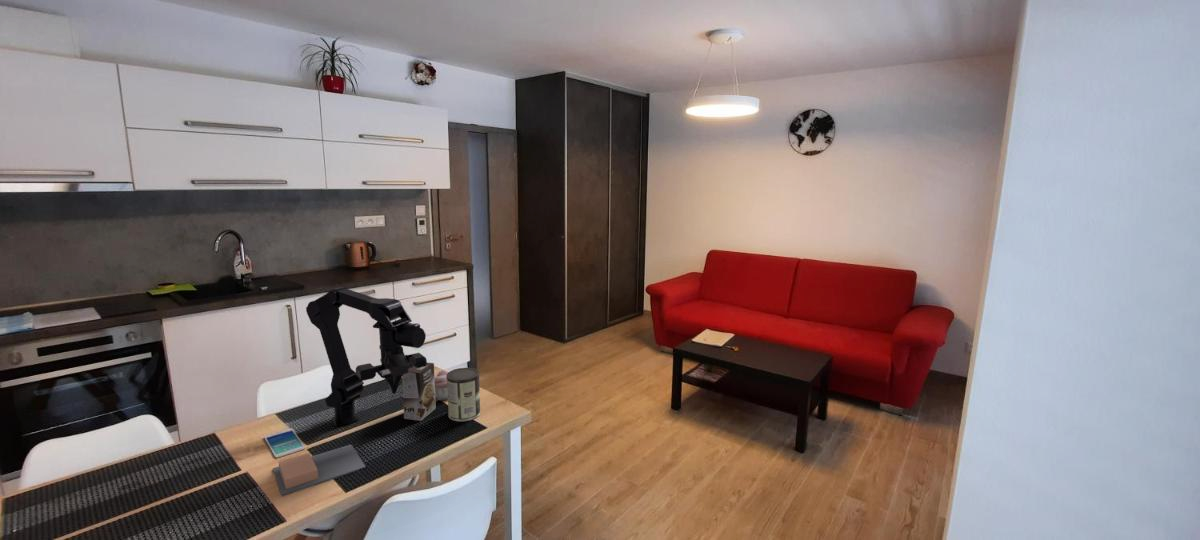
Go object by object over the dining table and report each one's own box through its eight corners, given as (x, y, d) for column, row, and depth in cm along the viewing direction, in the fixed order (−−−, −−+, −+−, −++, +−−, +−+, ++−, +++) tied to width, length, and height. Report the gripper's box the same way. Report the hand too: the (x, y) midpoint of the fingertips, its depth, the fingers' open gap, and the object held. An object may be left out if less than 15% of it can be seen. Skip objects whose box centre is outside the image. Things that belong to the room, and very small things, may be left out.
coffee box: (421, 421, 156) (419, 373, 153) (403, 419, 157) (400, 371, 154) (436, 408, 165) (434, 362, 162) (419, 406, 166) (416, 360, 163)
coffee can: (465, 404, 168) (464, 364, 166) (487, 412, 163) (486, 371, 160) (441, 416, 160) (439, 374, 157) (463, 425, 154) (461, 382, 152)
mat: (272, 469, 129) (272, 468, 129) (351, 445, 141) (351, 444, 141) (281, 496, 119) (281, 494, 119) (365, 467, 131) (365, 466, 131)
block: (310, 460, 133) (279, 470, 128) (309, 452, 132) (278, 461, 128) (318, 478, 125) (286, 489, 121) (317, 469, 125) (285, 479, 121)
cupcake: (442, 405, 167) (441, 377, 165) (424, 398, 172) (423, 370, 170) (463, 395, 175) (462, 368, 173) (445, 388, 180) (444, 362, 178)
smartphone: (275, 457, 134) (263, 436, 145) (275, 460, 134) (263, 438, 145) (306, 447, 139) (292, 427, 150) (306, 450, 139) (292, 430, 150)
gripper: (364, 358, 132) (368, 412, 135) (433, 344, 144) (435, 394, 147) (353, 346, 140) (357, 398, 143) (418, 334, 152) (421, 381, 155)
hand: (393, 393), depth 147 cm, fingers closed
